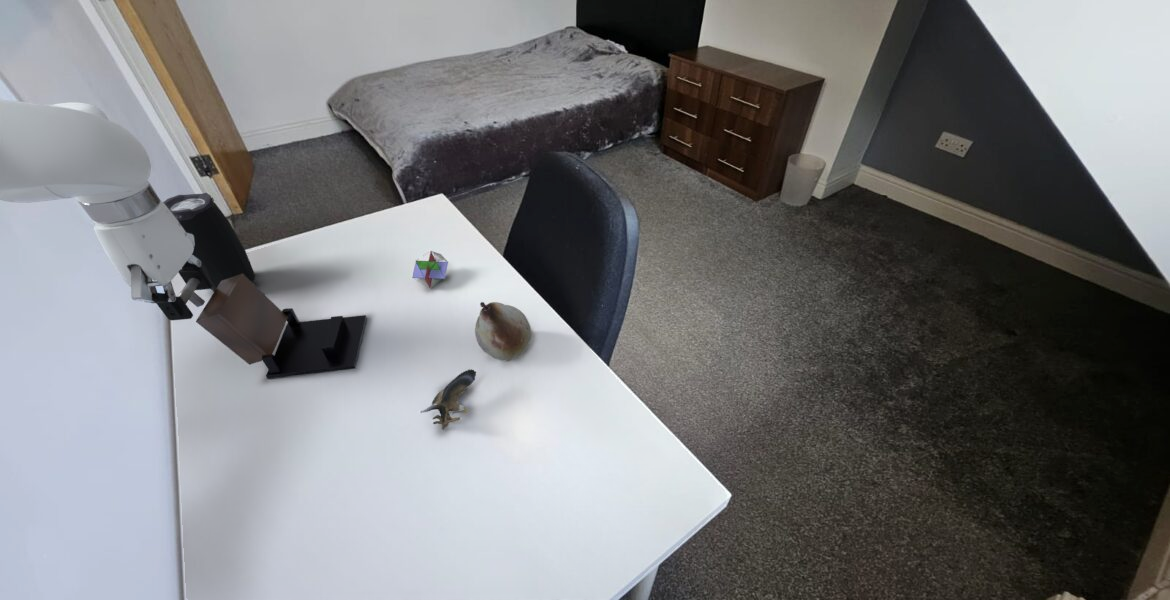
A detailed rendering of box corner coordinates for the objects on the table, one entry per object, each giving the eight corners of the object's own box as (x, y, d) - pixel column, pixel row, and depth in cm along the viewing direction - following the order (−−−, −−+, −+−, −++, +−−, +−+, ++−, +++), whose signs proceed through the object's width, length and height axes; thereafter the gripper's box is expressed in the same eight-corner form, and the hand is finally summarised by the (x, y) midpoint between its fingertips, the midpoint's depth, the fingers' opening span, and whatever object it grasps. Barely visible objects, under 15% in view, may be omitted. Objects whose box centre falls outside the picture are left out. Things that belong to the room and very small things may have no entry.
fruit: (468, 345, 86) (458, 295, 78) (511, 322, 91) (505, 273, 83) (500, 378, 81) (492, 328, 73) (543, 352, 85) (541, 302, 78)
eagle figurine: (478, 429, 72) (488, 376, 77) (444, 410, 67) (457, 356, 73) (442, 437, 75) (454, 387, 81) (408, 420, 70) (423, 368, 76)
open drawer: (271, 357, 78) (237, 369, 79) (288, 317, 86) (257, 327, 86) (202, 298, 69) (163, 312, 69) (227, 258, 76) (193, 271, 76)
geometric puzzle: (441, 290, 95) (441, 250, 94) (407, 289, 95) (407, 249, 94) (451, 288, 102) (452, 251, 101) (419, 287, 102) (420, 250, 101)
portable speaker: (265, 270, 101) (221, 187, 89) (250, 298, 95) (200, 213, 82) (221, 273, 100) (171, 190, 87) (203, 302, 93) (145, 216, 80)
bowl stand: (267, 379, 79) (255, 360, 76) (289, 326, 89) (279, 308, 86) (355, 368, 81) (347, 350, 78) (367, 318, 91) (360, 300, 88)
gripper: (126, 175, 69) (190, 272, 80) (46, 240, 56) (136, 344, 68) (183, 172, 70) (238, 268, 82) (117, 235, 57) (194, 339, 69)
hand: (191, 302), depth 74 cm, fingers closed on open drawer, 6 cm apart
